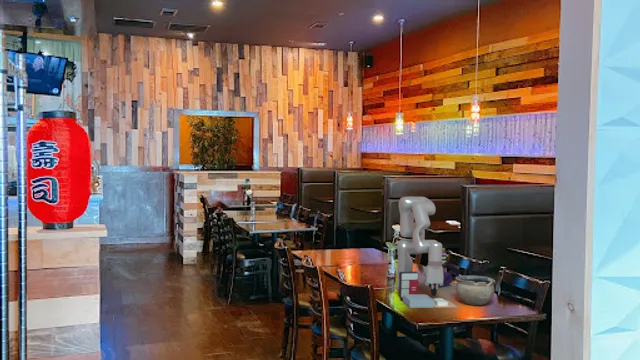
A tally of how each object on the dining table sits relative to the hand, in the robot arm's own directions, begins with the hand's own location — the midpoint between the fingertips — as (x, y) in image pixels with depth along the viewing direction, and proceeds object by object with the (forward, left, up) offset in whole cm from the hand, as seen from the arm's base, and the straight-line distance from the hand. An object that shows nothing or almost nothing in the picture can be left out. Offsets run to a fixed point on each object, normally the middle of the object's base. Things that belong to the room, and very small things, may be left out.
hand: (433, 295), depth 322 cm
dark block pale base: (-17, -10, -5) cm, 20 cm away
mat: (0, +5, -5) cm, 7 cm away
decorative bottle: (-46, +21, -5) cm, 51 cm away
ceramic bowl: (-1, +25, -5) cm, 26 cm away
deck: (0, -9, -5) cm, 10 cm away
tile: (0, +4, -3) cm, 5 cm away
